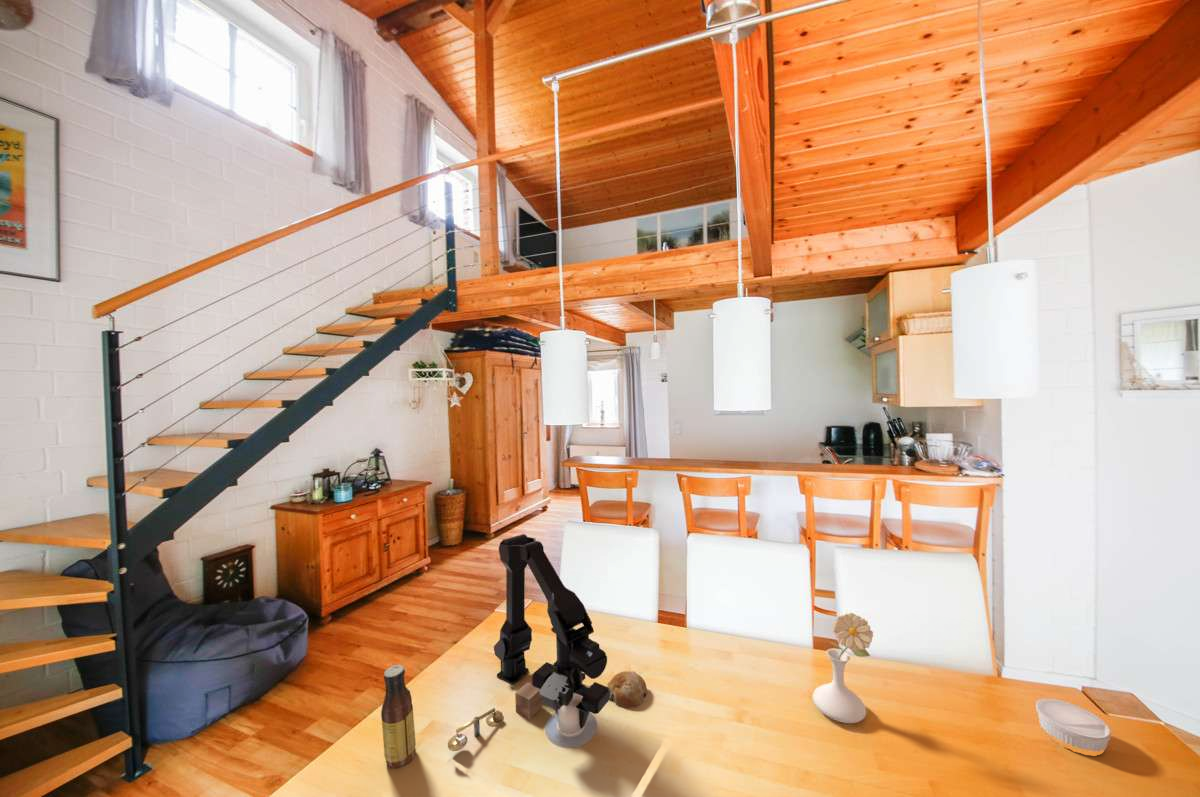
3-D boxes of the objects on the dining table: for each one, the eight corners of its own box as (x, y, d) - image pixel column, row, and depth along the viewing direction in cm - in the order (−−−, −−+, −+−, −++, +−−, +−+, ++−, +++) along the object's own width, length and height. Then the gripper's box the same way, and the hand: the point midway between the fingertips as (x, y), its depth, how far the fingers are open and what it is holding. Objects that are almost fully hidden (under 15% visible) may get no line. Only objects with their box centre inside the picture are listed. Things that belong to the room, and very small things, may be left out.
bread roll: (637, 729, 106) (650, 701, 105) (599, 706, 108) (612, 679, 107) (641, 699, 116) (654, 674, 115) (607, 679, 117) (618, 654, 117)
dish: (534, 738, 99) (534, 733, 99) (566, 705, 109) (565, 700, 109) (577, 761, 93) (577, 756, 93) (606, 724, 103) (606, 719, 103)
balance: (494, 715, 107) (494, 690, 106) (506, 721, 104) (506, 696, 104) (444, 760, 94) (443, 732, 94) (456, 768, 92) (455, 740, 92)
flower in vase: (806, 712, 105) (804, 610, 104) (820, 687, 113) (819, 592, 113) (868, 741, 96) (867, 630, 95) (879, 712, 105) (878, 609, 104)
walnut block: (516, 717, 106) (515, 692, 106) (528, 705, 110) (527, 682, 110) (530, 724, 104) (529, 699, 103) (542, 712, 107) (541, 688, 107)
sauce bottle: (407, 741, 100) (404, 655, 99) (421, 755, 96) (418, 666, 95) (378, 760, 94) (374, 671, 94) (391, 776, 91) (387, 683, 90)
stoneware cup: (551, 730, 100) (550, 701, 100) (568, 712, 106) (567, 684, 105) (574, 741, 97) (573, 711, 96) (590, 722, 102) (589, 694, 102)
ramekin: (1100, 770, 88) (1100, 745, 88) (1026, 732, 98) (1026, 709, 98) (1118, 748, 93) (1119, 724, 93) (1047, 713, 103) (1047, 691, 103)
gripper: (514, 662, 99) (517, 729, 99) (582, 691, 89) (584, 765, 89) (546, 637, 108) (548, 699, 109) (610, 661, 98) (612, 728, 99)
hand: (571, 721), depth 101 cm, fingers closed on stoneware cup, 6 cm apart
